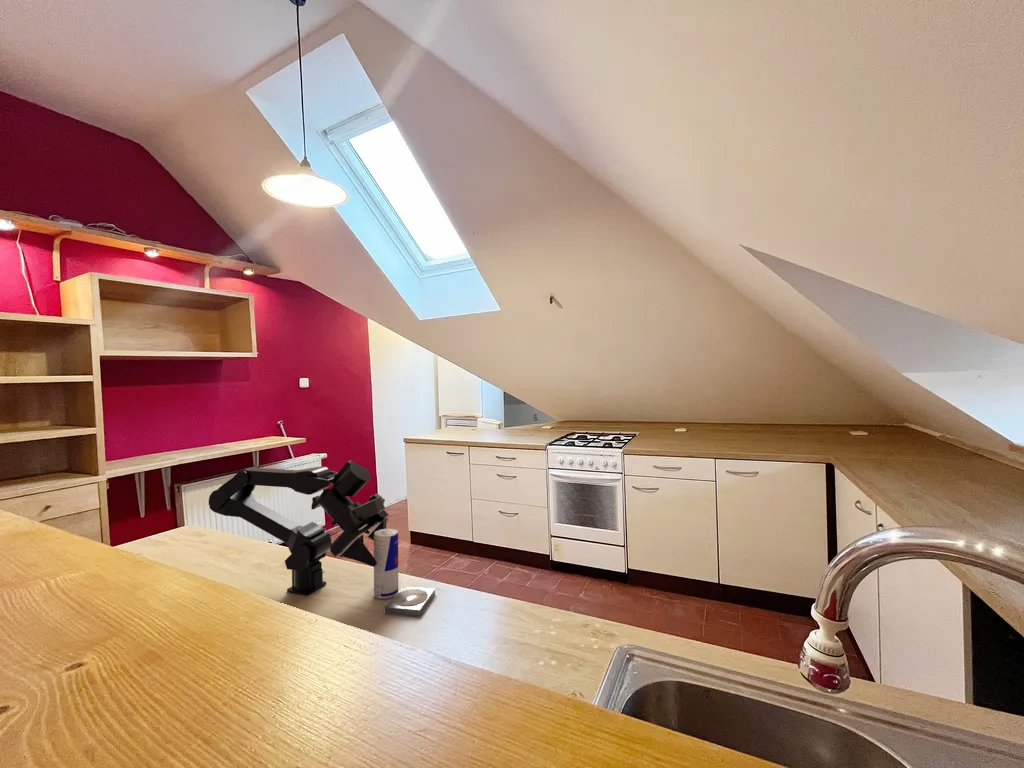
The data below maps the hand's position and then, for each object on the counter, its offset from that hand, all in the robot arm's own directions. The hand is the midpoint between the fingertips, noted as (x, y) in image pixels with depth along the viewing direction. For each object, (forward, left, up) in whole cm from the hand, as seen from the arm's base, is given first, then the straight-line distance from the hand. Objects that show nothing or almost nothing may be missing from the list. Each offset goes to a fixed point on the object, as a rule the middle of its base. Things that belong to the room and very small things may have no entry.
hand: (384, 557), depth 104 cm
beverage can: (0, 0, -9) cm, 9 cm away
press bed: (+8, -2, -9) cm, 12 cm away
